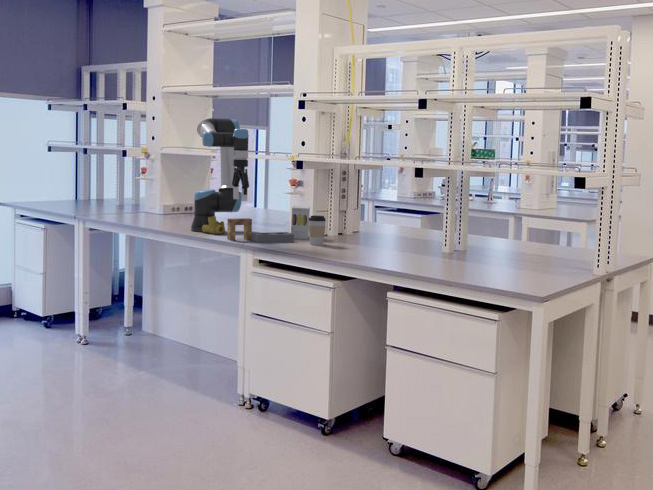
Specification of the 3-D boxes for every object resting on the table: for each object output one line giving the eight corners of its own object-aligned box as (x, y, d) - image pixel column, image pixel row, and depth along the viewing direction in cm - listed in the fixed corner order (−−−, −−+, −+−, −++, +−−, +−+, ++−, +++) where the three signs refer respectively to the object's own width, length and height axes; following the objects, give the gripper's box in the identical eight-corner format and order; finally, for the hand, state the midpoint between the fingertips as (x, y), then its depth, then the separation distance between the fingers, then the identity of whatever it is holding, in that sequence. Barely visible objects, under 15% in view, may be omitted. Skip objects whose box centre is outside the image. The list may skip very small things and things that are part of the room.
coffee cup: (305, 244, 370) (305, 215, 368) (311, 242, 379) (311, 214, 377) (321, 246, 368) (322, 216, 365) (327, 244, 376) (328, 215, 374)
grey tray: (257, 243, 371) (257, 235, 370) (251, 240, 380) (251, 232, 379) (293, 241, 380) (293, 234, 379) (286, 239, 388) (286, 232, 388)
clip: (229, 240, 377) (229, 219, 375) (227, 239, 380) (227, 218, 379) (251, 239, 382) (251, 219, 381) (249, 238, 386) (249, 218, 384)
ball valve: (218, 236, 397) (230, 232, 405) (215, 218, 395) (228, 214, 402) (201, 236, 404) (214, 232, 412) (199, 217, 402) (212, 214, 410)
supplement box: (290, 238, 393) (291, 207, 391) (291, 236, 402) (292, 206, 400) (308, 239, 393) (308, 208, 390) (309, 237, 402) (310, 206, 399)
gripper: (226, 158, 385) (225, 198, 388) (241, 159, 363) (241, 202, 365) (239, 158, 388) (239, 198, 391) (255, 159, 366) (255, 202, 369)
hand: (240, 200), depth 378 cm, fingers open, 13 cm apart
